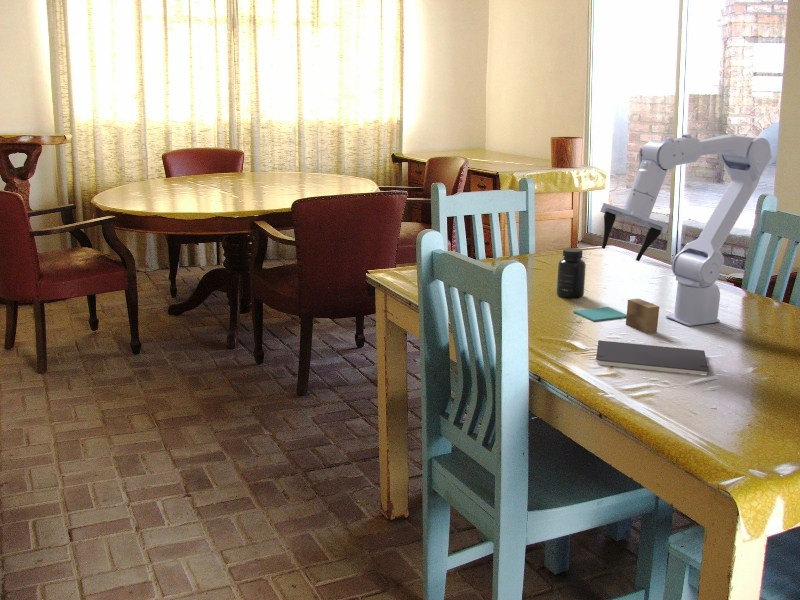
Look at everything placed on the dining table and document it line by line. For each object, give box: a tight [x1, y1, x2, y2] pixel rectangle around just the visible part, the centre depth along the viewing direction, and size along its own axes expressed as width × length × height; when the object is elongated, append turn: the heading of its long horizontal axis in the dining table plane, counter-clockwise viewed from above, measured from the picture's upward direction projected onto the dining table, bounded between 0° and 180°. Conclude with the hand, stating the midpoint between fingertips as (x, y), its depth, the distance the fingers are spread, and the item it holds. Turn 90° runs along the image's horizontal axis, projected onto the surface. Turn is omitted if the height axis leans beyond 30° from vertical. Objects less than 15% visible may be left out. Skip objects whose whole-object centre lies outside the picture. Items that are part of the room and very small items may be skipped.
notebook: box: [595, 339, 710, 375], centre depth 173 cm, size 13×2×21 cm
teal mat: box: [573, 306, 627, 322], centre depth 203 cm, size 10×8×1 cm
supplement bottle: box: [556, 247, 586, 300], centre depth 218 cm, size 7×7×12 cm
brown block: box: [625, 298, 660, 335], centre depth 193 cm, size 7×3×6 cm, turn 24°
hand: (620, 254), depth 186 cm, fingers open, 7 cm apart
